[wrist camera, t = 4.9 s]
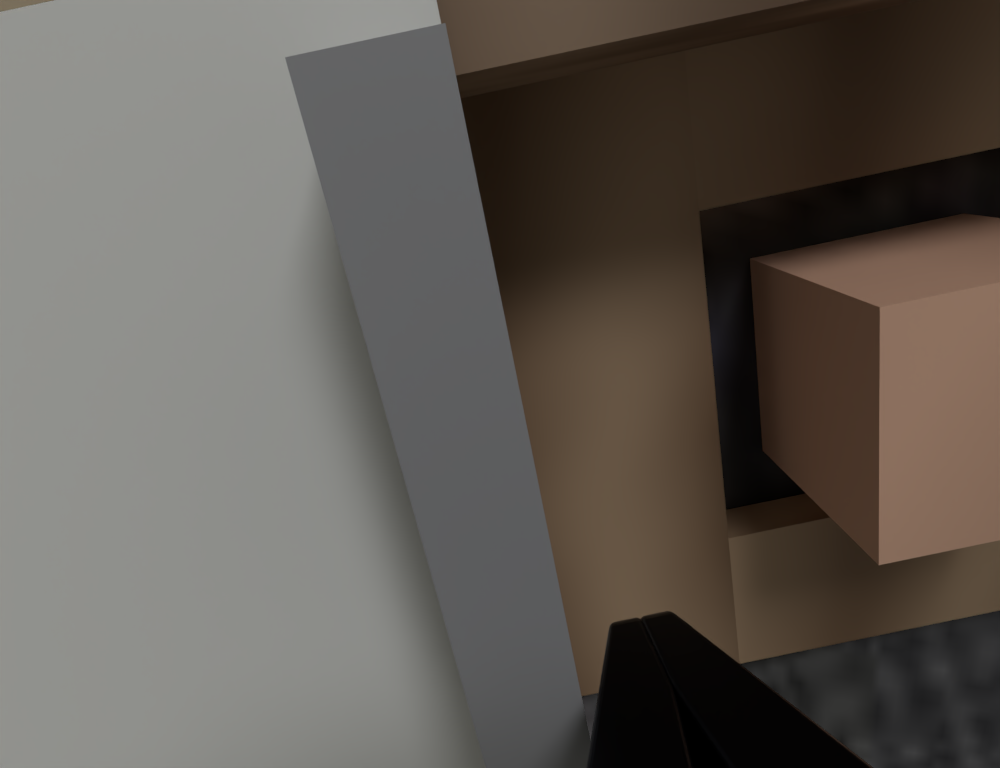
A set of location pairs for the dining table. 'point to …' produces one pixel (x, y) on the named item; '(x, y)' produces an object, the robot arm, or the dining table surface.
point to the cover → (261, 403)
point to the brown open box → (695, 282)
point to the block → (887, 381)
